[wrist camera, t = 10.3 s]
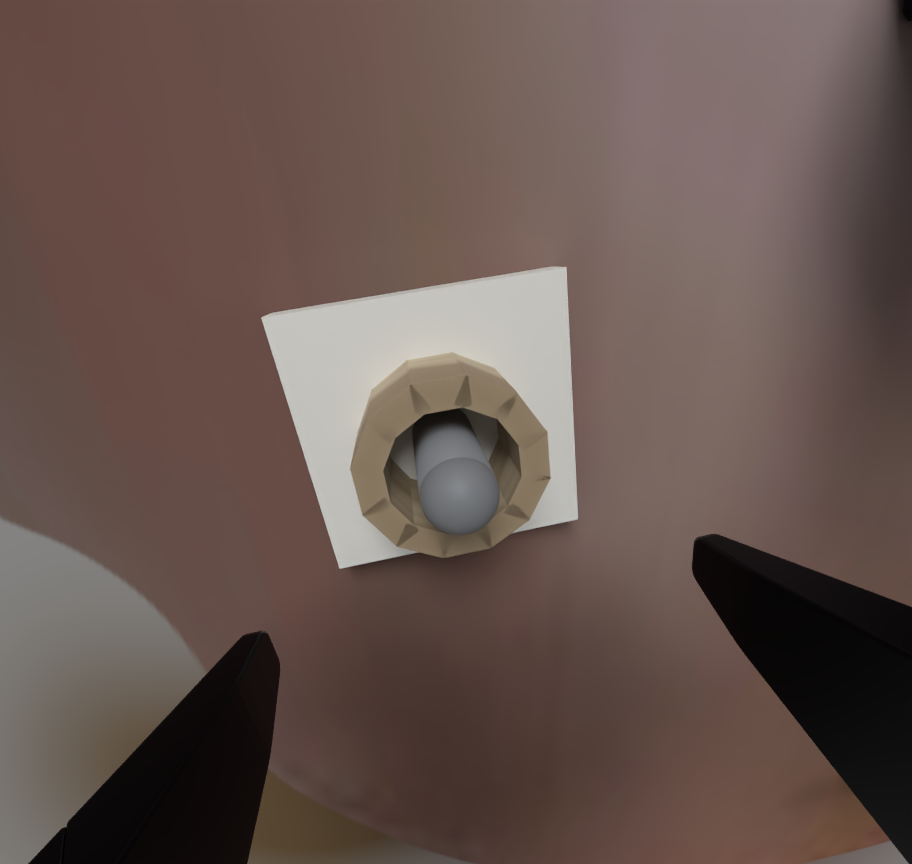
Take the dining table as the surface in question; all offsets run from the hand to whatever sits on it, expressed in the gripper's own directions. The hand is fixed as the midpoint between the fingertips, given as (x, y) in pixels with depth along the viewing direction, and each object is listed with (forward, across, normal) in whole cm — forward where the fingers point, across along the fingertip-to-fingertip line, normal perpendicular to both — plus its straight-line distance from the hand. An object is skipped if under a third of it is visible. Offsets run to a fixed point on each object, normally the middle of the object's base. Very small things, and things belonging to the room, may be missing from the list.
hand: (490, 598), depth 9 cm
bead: (+9, 0, 0) cm, 9 cm away
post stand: (+11, 0, 0) cm, 11 cm away
